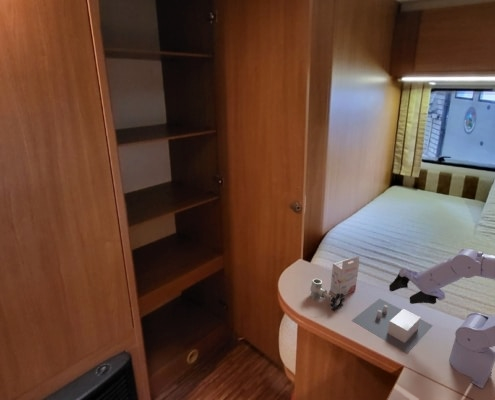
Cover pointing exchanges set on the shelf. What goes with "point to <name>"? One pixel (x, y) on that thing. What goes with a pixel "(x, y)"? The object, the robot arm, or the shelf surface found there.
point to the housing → (403, 325)
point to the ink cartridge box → (344, 276)
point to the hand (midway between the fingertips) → (400, 294)
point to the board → (378, 324)
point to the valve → (325, 294)
